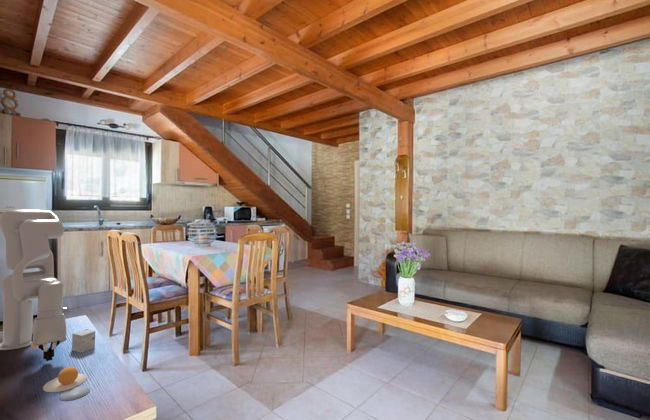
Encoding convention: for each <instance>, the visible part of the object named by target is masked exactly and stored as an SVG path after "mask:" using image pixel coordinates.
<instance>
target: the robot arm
mask: <svg viewBox="0 0 650 420" xmlns="http://www.w3.org/2000/svg"><path fill="white" fill-rule="evenodd" d="M0 229H1V232H2V233H3V237H4V239H5V264H6V268H7V269H8V270H11V271H12V273H11V274H8V275H6V276H5V277H4V278H3V279H2V280H1V291H2V299H3V322H2V342H0V351H11V350H13V351H14V350H18V349H23V348H26V347H29V346H30V349H32V350H35V349H40V350H41V351H43V357H42V358H43V360H45V361H46V362H49V361H53V358H54V357H55V350H56V348H57V347H58V346H59V345H60V344H61V343H64V342H66V341H67V323H66V316H65V314H64V312H67V310H68V307H63V304H64V302H63V301H64V299H63V298H64V282H62V281H59V279H58V278H57V277H55V267H54V266H55V263H54V262H55V261H54V253H53V252H52V250H51V246H50V242H49V239H51V240H52V239H60V238H62V237H63V235H64V233H65V232H64V231H65V229H64V225H63V222H62V221H61V220H60V218H59V217H58V215H56V213H54V212H53V211H51V210H47V209H10V210H5V211H4V212H2V213H1V214H0ZM32 269H38V270H37V271H25V270H32ZM35 299H37V313H36V314H37V315H36V316H37V317H35V318H34V302H33V300H35ZM48 344H50V345H49V346H48ZM48 347H49V348H48Z"/></svg>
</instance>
